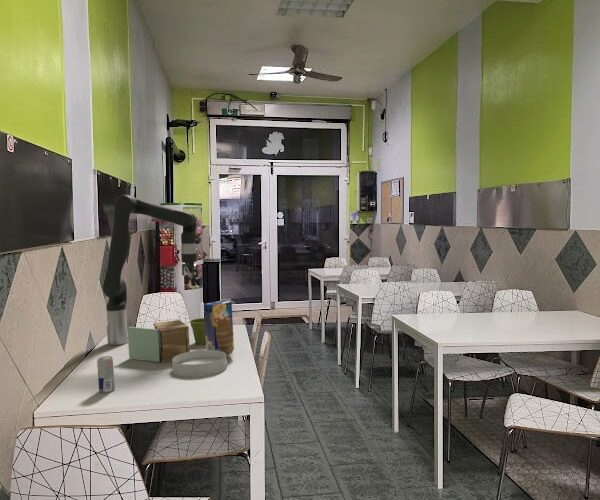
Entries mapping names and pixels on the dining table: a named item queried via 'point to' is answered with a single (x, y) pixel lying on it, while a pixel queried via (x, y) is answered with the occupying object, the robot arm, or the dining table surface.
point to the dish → (199, 363)
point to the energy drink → (105, 374)
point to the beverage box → (215, 321)
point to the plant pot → (198, 330)
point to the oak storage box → (173, 339)
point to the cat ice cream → (224, 335)
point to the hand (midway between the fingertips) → (190, 285)
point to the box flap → (144, 344)
